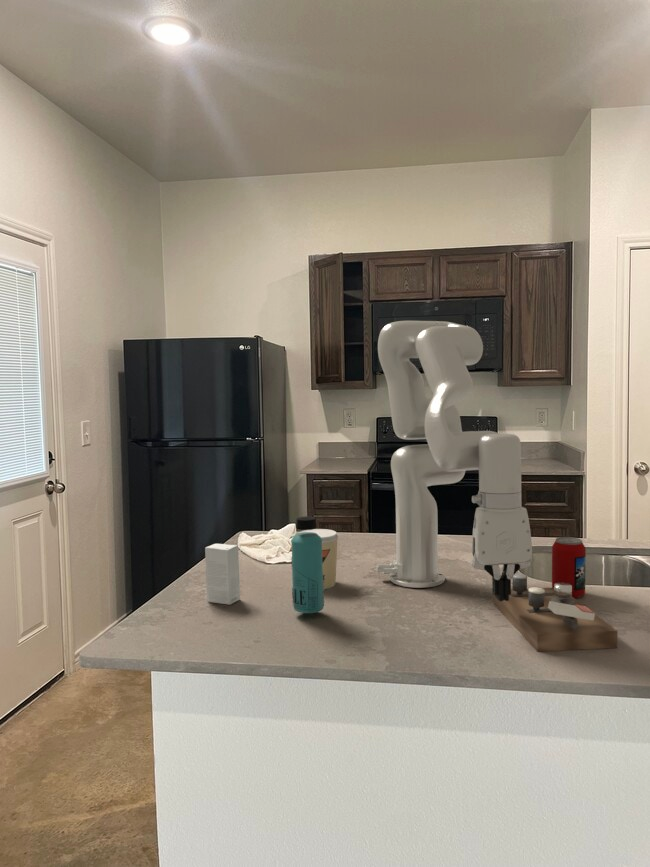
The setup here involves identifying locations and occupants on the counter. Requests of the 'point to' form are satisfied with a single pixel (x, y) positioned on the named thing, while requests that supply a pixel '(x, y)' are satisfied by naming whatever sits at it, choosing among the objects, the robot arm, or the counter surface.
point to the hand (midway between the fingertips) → (501, 598)
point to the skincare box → (222, 573)
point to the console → (555, 624)
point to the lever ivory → (536, 597)
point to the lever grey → (519, 583)
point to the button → (563, 590)
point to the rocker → (571, 610)
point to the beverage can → (569, 564)
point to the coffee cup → (328, 555)
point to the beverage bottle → (307, 568)
